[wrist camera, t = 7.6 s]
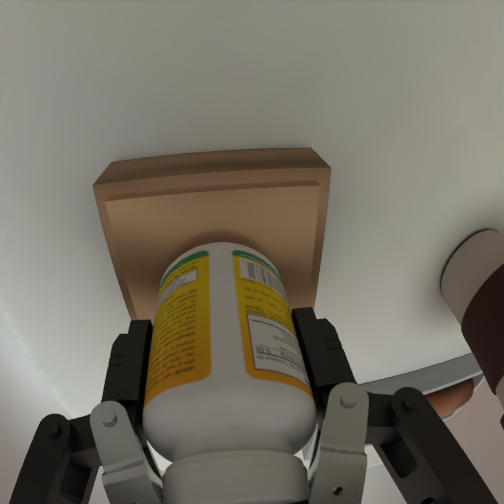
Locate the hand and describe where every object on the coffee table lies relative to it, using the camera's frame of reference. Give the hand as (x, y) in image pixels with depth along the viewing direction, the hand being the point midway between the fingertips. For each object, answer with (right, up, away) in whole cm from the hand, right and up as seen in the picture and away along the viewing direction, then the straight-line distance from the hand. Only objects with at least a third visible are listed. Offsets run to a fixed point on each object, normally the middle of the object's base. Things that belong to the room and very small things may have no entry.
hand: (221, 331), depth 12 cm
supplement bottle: (0, +1, +2) cm, 3 cm away
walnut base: (-1, +4, +6) cm, 7 cm away
